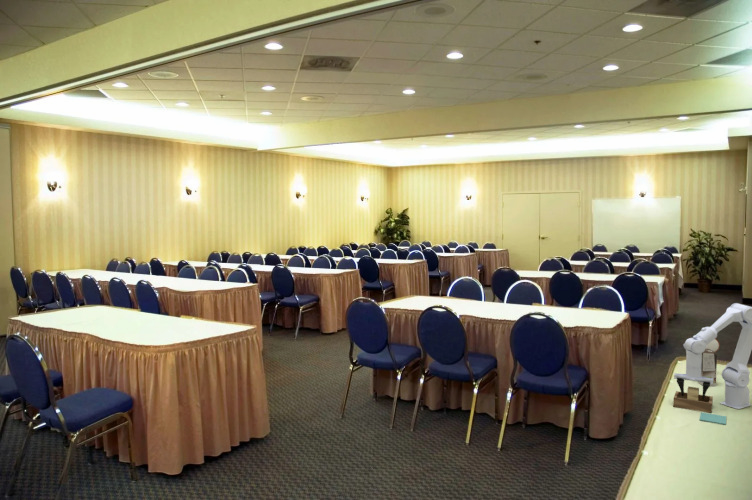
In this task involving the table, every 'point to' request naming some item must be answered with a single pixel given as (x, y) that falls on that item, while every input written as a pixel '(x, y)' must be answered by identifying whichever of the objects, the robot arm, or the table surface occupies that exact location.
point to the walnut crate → (693, 402)
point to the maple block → (693, 393)
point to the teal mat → (713, 418)
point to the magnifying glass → (713, 345)
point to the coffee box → (709, 365)
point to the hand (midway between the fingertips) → (692, 397)
